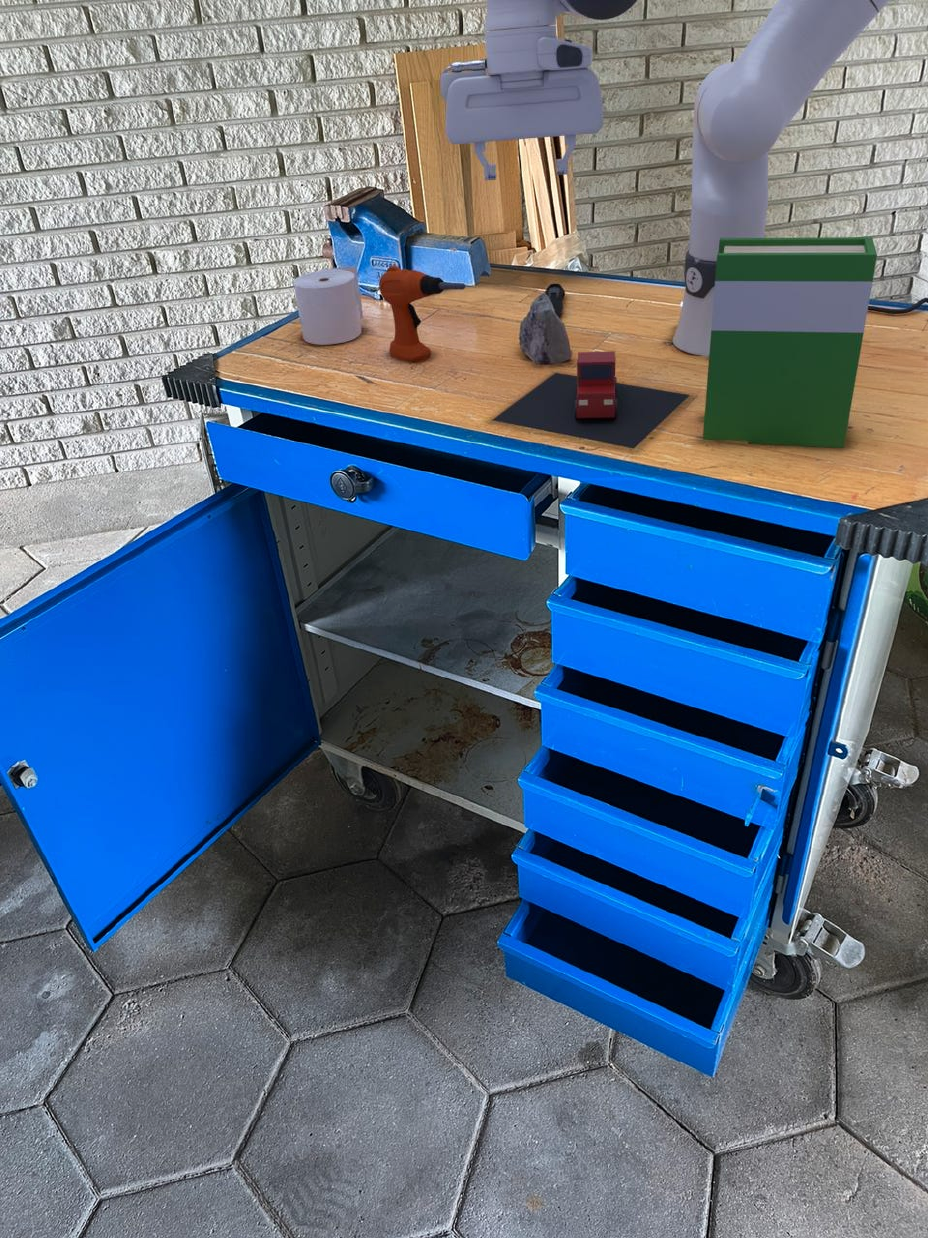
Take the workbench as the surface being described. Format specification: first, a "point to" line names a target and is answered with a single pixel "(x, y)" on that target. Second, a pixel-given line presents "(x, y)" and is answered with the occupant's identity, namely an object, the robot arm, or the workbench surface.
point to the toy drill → (409, 308)
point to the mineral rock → (544, 334)
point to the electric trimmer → (556, 297)
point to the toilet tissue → (329, 305)
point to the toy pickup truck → (596, 385)
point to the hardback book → (787, 338)
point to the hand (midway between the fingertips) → (526, 176)
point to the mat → (556, 414)
